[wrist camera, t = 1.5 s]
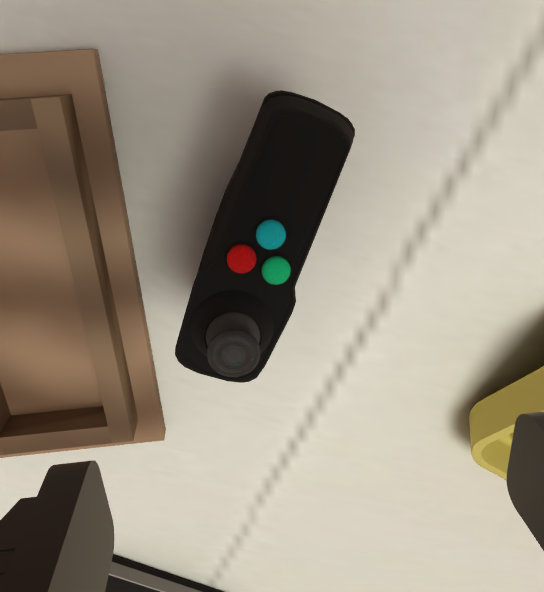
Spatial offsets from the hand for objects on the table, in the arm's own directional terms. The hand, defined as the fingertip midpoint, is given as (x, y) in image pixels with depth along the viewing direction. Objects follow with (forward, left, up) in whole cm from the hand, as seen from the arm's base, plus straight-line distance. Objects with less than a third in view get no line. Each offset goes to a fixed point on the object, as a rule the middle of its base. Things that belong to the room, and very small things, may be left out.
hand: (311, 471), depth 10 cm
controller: (0, 0, -20) cm, 20 cm away
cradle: (+3, -12, -20) cm, 23 cm away
